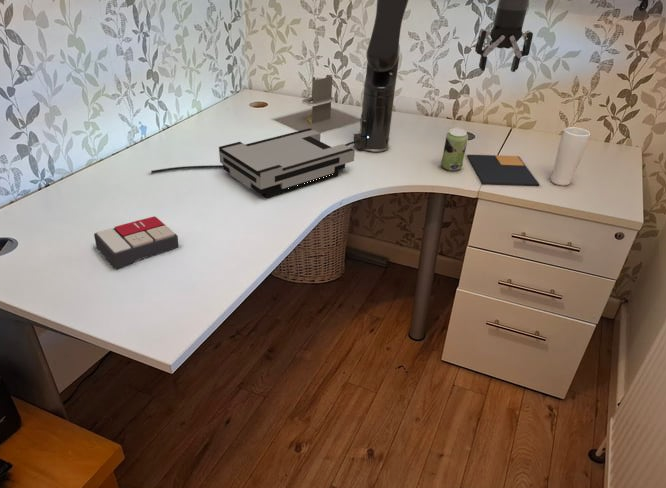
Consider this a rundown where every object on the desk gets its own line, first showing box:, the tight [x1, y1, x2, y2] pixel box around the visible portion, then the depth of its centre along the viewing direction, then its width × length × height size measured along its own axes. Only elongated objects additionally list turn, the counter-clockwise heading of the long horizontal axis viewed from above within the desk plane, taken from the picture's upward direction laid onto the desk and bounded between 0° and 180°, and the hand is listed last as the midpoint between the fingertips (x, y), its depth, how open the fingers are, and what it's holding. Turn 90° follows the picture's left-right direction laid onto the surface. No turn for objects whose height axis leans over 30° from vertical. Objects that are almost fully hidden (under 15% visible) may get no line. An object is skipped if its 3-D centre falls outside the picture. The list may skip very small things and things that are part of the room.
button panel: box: [94, 215, 180, 269], centre depth 118 cm, size 11×4×15 cm
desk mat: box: [466, 154, 540, 187], centre depth 158 cm, size 16×20×1 cm
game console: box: [218, 128, 356, 200], centre depth 150 cm, size 21×32×8 cm, turn 127°
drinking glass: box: [550, 126, 591, 187], centre depth 147 cm, size 7×7×15 cm
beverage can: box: [441, 127, 469, 172], centre depth 154 cm, size 6×7×12 cm
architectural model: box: [273, 74, 361, 134], centre depth 185 cm, size 20×25×15 cm
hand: (497, 70), depth 149 cm, fingers open, 8 cm apart
